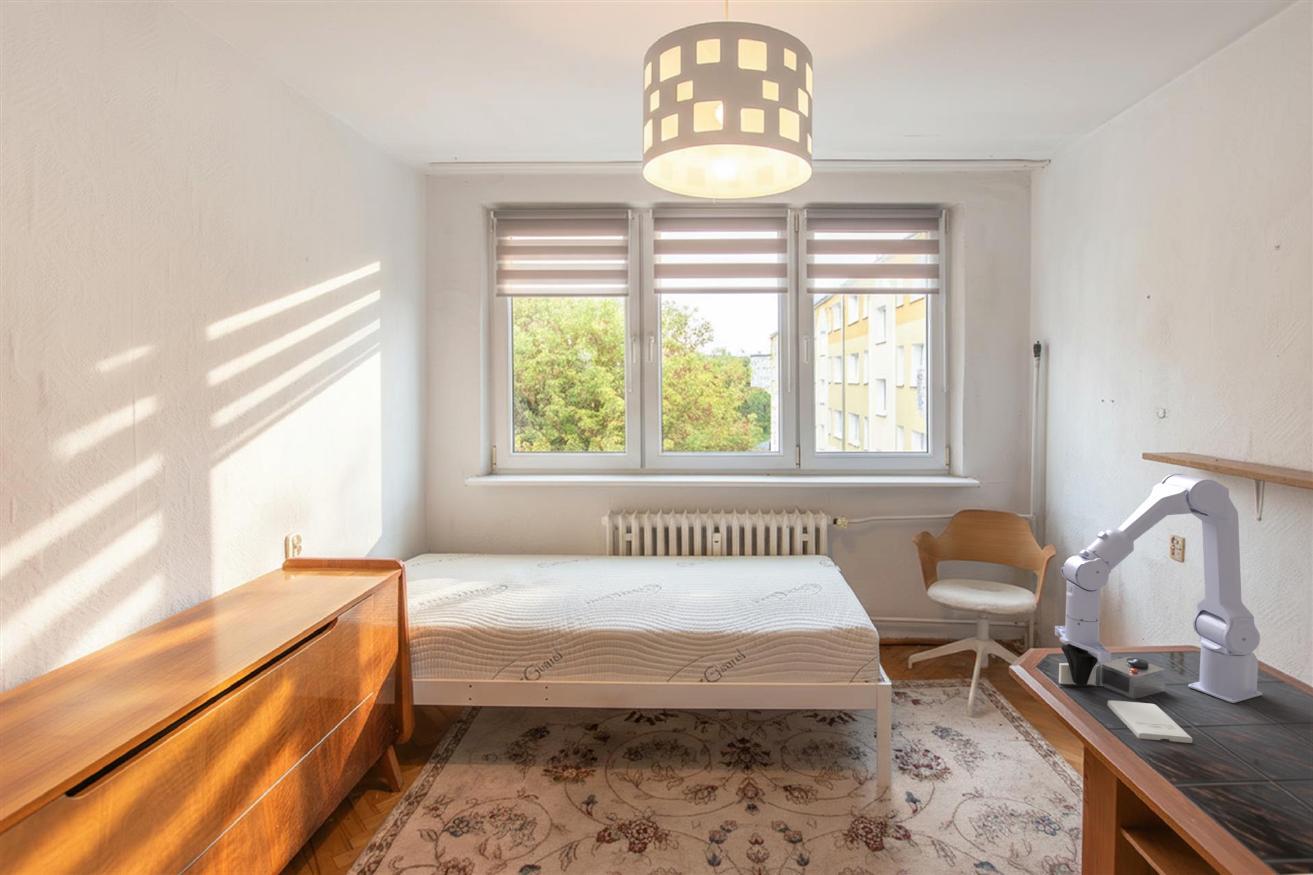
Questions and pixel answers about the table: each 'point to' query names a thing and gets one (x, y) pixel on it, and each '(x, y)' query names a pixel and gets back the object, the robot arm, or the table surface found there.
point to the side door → (1067, 678)
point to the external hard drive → (1148, 721)
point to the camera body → (1132, 677)
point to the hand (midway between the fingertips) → (1079, 683)
